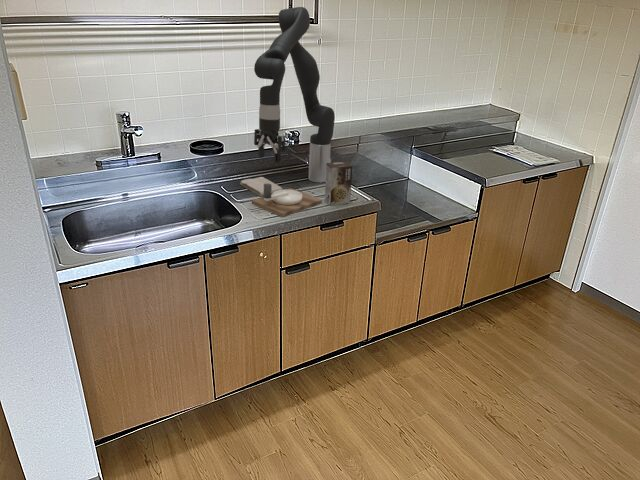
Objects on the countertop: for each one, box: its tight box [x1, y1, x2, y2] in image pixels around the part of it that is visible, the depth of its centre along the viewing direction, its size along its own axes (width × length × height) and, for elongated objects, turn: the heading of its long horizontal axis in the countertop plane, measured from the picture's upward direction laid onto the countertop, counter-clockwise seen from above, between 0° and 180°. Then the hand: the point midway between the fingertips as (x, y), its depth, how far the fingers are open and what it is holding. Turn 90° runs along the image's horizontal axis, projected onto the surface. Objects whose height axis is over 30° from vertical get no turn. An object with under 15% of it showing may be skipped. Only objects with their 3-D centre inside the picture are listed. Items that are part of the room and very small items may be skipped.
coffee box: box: [324, 161, 353, 206], centre depth 211 cm, size 9×6×16 cm
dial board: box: [250, 187, 323, 218], centre depth 209 cm, size 22×18×2 cm
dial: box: [263, 184, 302, 205], centre depth 205 cm, size 18×12×8 cm
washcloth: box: [239, 176, 284, 197], centre depth 224 cm, size 12×18×3 cm, turn 38°
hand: (269, 160), depth 194 cm, fingers open, 8 cm apart
